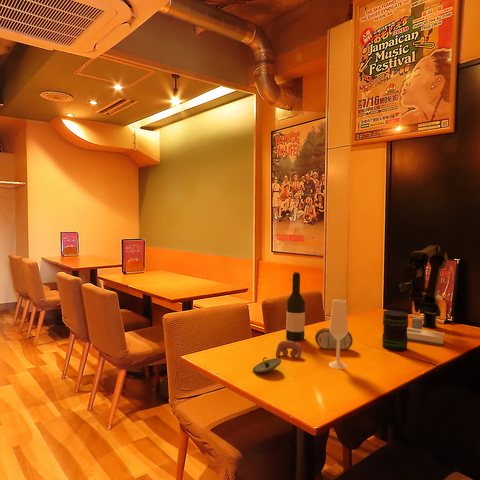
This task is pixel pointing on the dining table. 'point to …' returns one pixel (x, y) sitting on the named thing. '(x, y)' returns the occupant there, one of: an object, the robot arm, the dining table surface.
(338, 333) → the champagne flute
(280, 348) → the video game controller
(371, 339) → the dining table surface
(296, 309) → the wine bottle
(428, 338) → the cream socket panel
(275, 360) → the lid
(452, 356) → the dining table surface
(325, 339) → the tin
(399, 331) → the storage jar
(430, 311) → the robot arm
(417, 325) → the plug
